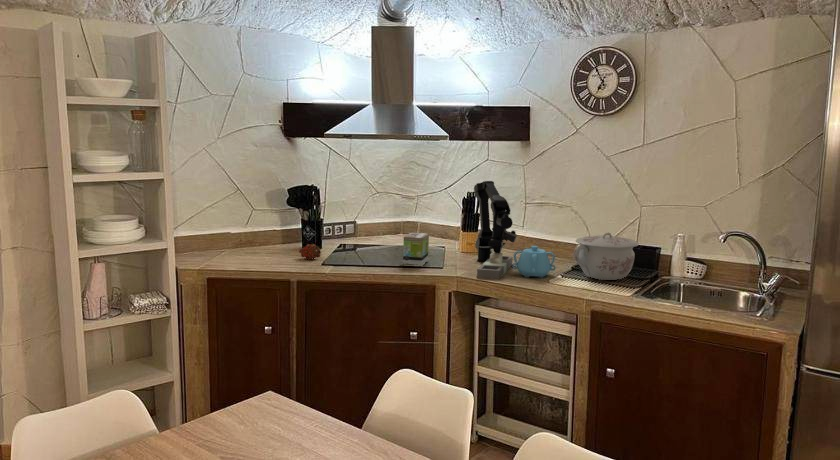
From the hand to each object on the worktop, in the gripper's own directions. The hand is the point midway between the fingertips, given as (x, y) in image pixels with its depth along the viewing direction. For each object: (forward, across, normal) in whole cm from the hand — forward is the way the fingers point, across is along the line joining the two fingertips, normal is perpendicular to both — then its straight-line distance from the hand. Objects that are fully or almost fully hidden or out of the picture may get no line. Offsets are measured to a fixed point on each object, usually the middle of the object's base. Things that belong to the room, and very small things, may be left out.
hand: (498, 258), depth 317 cm
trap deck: (+5, -6, 0) cm, 8 cm away
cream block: (+1, -4, 0) cm, 4 cm away
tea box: (+5, -3, +40) cm, 41 cm away
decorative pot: (+6, -8, -18) cm, 21 cm away
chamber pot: (+6, -3, -49) cm, 50 cm away
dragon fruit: (+5, -10, +94) cm, 95 cm away
